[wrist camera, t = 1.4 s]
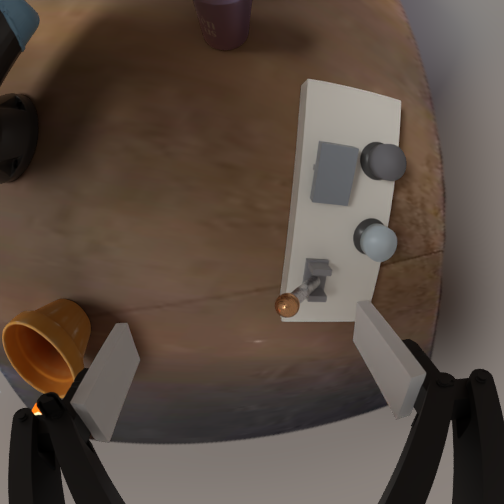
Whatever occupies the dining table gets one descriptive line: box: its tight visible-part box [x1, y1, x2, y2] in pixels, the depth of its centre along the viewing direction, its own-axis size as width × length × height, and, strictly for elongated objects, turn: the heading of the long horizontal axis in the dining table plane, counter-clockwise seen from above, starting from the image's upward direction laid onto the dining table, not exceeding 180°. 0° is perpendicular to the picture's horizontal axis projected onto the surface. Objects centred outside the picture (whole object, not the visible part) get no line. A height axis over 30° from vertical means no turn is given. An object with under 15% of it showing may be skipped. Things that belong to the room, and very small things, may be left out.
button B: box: [360, 223, 397, 262], centre depth 34 cm, size 4×4×2 cm
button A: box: [368, 144, 406, 181], centre depth 31 cm, size 4×4×2 cm
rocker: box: [310, 141, 359, 206], centre depth 32 cm, size 4×7×1 cm, turn 176°
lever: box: [275, 275, 320, 318], centre depth 33 cm, size 3×3×10 cm
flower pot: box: [2, 299, 91, 398], centre depth 37 cm, size 14×14×13 cm
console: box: [280, 79, 401, 322], centre depth 36 cm, size 13×32×7 cm, turn 176°
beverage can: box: [193, 0, 252, 50], centre depth 24 cm, size 6×6×15 cm
